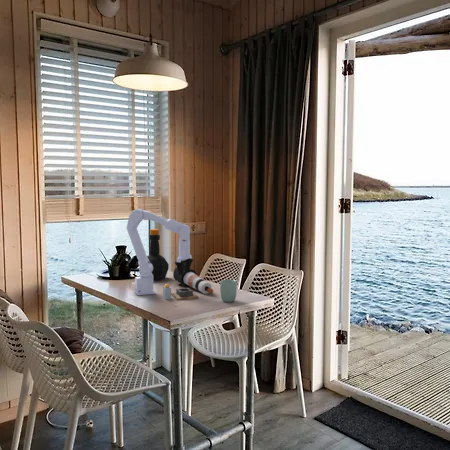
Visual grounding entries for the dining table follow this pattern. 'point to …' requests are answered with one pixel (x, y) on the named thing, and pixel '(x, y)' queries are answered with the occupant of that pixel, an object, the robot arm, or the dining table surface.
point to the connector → (166, 292)
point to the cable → (192, 281)
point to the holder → (184, 294)
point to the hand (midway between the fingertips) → (184, 273)
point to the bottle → (157, 257)
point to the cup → (228, 290)
